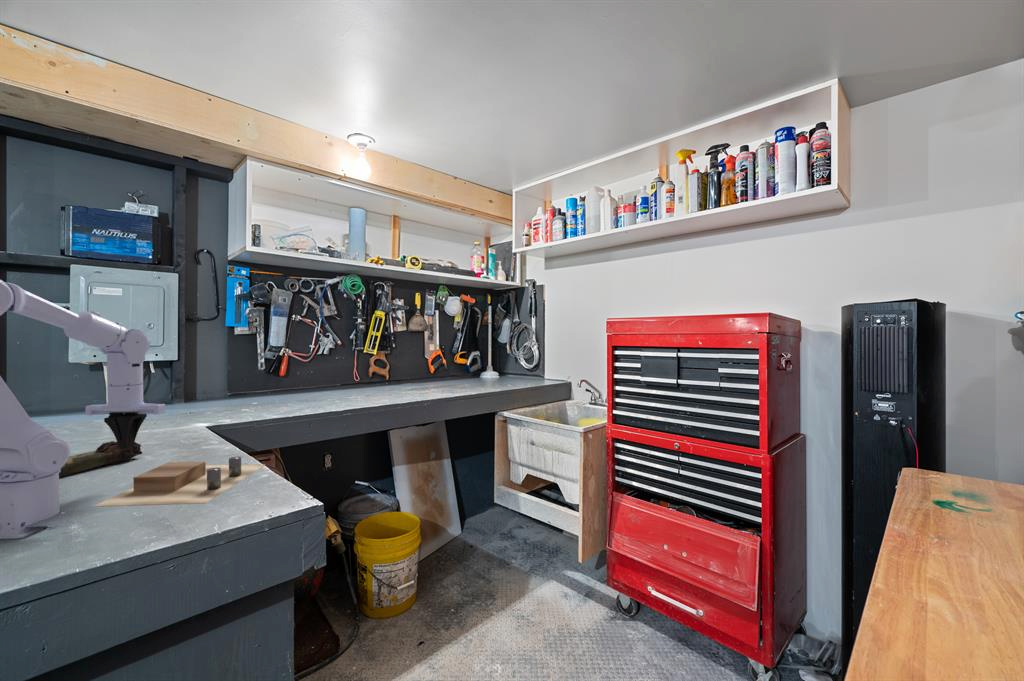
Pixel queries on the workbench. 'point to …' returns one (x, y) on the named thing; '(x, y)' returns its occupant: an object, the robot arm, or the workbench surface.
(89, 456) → the mossy wood log
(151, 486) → the walnut plate
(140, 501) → the bench board
